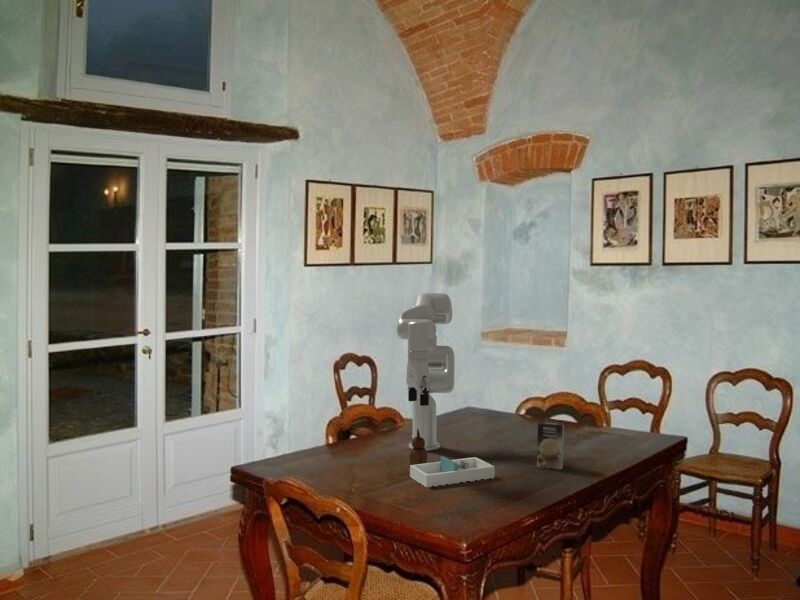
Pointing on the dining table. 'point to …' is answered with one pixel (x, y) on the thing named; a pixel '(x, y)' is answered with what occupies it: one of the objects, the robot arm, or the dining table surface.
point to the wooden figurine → (418, 451)
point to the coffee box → (550, 444)
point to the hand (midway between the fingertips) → (418, 403)
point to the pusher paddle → (452, 465)
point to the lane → (451, 472)
